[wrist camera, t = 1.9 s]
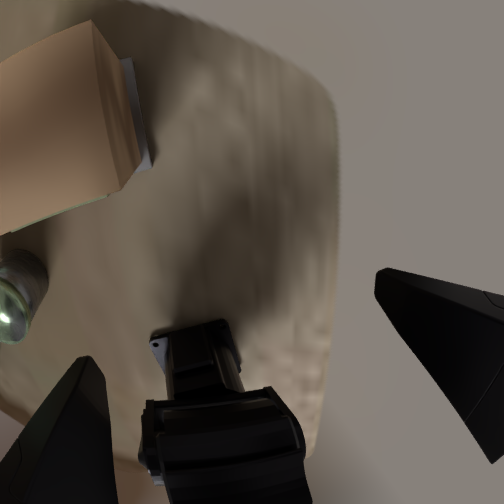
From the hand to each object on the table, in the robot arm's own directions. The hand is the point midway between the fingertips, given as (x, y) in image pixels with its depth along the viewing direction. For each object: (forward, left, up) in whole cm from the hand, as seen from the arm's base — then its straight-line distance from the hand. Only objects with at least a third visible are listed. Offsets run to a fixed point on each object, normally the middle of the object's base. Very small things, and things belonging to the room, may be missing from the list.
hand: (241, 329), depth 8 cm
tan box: (+7, +6, -12) cm, 15 cm away
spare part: (-1, +14, -12) cm, 19 cm away
